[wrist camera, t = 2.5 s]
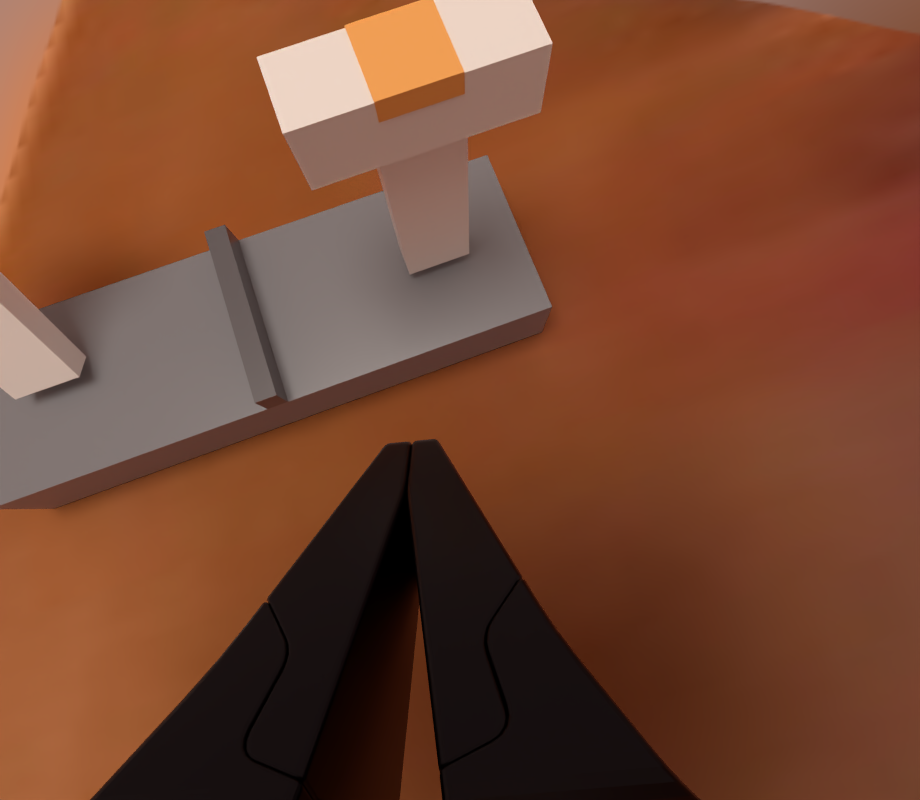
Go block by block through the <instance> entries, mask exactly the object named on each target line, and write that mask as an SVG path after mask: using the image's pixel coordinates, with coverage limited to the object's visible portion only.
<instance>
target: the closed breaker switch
mask: <svg viewBox="0 0 920 800" xmlns="http://www.w3.org/2000/svg"><path fill="white" fill-rule="evenodd" d="M85 359H86V356H85V355H84V354H83V353H82V352H81V351H80V350H79V349H78V348H77V347H76V346H75V345H74V344H73V343H72V342H71V341H70V340H69V339H68V338H67V337H66V336H65V335H64V334H63V333H62V332H61V331H60V330H59V329H58V328H57V327H56V326H55V325H54V324H53V323H52V322H51V321H50V320H49V319H48V318H47V317H46V316H45V315H44V314H43V313H42V312H41V311H40V310H39V309H37V308H36V307H35V306H34V305H33V304H32V303H31V302H30V301H29V300H28V299H27V298H26V297H25V296H24V295H23V294H22V293H21V292H20V291H19V290H18V289H17V288H16V287H15V286H14V285H13V284H12V283H11V282H10V281H9V280H8V279H7V278H6V277H5V276H4V275H3V274H2V273H1V272H0V388H1V389H3V390H4V391H5V392H6V393H8V394H9V395H10V396H11V397H13V398H14V399H18V398H21V397H24V396H27V395H30V394H32V393H35V392H38V391H41V390H44V389H47V388H49V387H52V386H55V385H58V384H61V383H64V382H67V381H69V380H72V379H75V378H78V377H80V374H81V371H82V368H83V365H84V362H85Z"/></svg>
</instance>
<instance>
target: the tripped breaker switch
mask: <svg viewBox="0 0 920 800" xmlns="http://www.w3.org/2000/svg"><path fill="white" fill-rule="evenodd" d="M344 26H345V28H344V29H341V30H338V31H335V32H331V33H328V34H325V35H322V36H319V37H316V38H313V39H310V40H307V41H304V42H301V43H298V44H295V45H292V46H289V47H286V48H283V49H280V50H277V51H273V52H270V53H267V54H264V55H261V56H258V57H257V60H258V62H259V65H260V68H261V71H262V74H263V77H264V80H265V83H266V86H267V89H268V92H269V95H270V98H271V101H272V104H273V106H274V109H275V112H276V115H277V118H278V121H279V124H280V127H281V130H282V133H283V135H284V137H285V139H286V141H287V143H288V145H289V147H290V149H291V151H292V153H293V155H294V157H295V158H296V160H297V162H298V164H299V166H300V168H301V170H302V172H303V174H304V176H305V178H306V180H307V182H308V184H309V186H310V188H311V190H315V189H318V188H321V187H324V186H326V185H329V184H332V183H335V182H338V181H341V180H344V179H347V178H350V177H353V176H356V175H359V174H362V173H365V172H367V171H370V170H373V169H376V168H377V170H378V174H379V177H380V181H381V184H382V188H383V191H384V195H385V198H386V202H387V205H388V209H389V212H390V216H391V219H392V223H393V226H394V230H395V233H396V237H397V240H398V244H399V247H400V250H401V253H402V255H403V258H404V261H405V263H406V266H407V269H408V271H409V274H413V273H416V272H419V271H422V270H424V269H427V268H430V267H433V266H436V265H439V264H441V263H444V262H447V261H450V260H453V259H456V258H459V257H461V256H464V255H467V254H469V202H468V137H470V136H473V135H476V134H479V133H482V132H485V131H488V130H490V129H493V128H496V127H499V126H502V125H505V124H508V123H511V122H514V121H517V120H520V119H523V118H526V117H529V116H531V115H534V114H537V113H540V112H541V107H542V101H543V96H544V90H545V84H546V78H547V73H548V67H549V61H550V55H551V49H552V44H553V43H552V41H551V39H550V37H549V35H548V33H547V31H546V29H545V26H544V24H543V22H542V20H541V18H540V16H539V14H538V12H537V10H536V8H535V6H534V4H533V1H532V0H420V1H417V2H414V3H411V4H408V5H405V6H402V7H398V8H395V9H392V10H389V11H386V12H383V13H380V14H377V15H374V16H371V17H368V18H365V19H362V20H359V21H356V22H353V23H350V24H347V25H344Z"/></svg>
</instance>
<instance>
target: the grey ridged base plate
mask: <svg viewBox="0 0 920 800" xmlns="http://www.w3.org/2000/svg"><path fill="white" fill-rule="evenodd" d="M468 202H469V254H467V255H464V256H461V257H459V258H456V259H453V260H450V261H447V262H444V263H441V264H439V265H436V266H433V267H430V268H427V269H424V270H422V271H419V272H416V273H413V274H409V271H408V269H407V266H406V263H405V261H404V258H403V255H402V253H401V250H400V247H399V244H398V240H397V237H396V233H395V230H394V226H393V223H392V219H391V216H390V212H389V209H388V205H387V202H386V198H385V195H384V191H381V192H378V193H375V194H373V195H370V196H367V197H364V198H361V199H358V200H355V201H352V202H349V203H346V204H343V205H341V206H338V207H335V208H332V209H329V210H326V211H323V212H320V213H317V214H314V215H311V216H309V217H306V218H303V219H300V220H297V221H294V222H291V223H288V224H285V225H282V226H279V227H277V228H274V229H271V230H268V231H265V232H262V233H259V234H256V235H253V236H250V237H247V238H244V239H242V240H238V239H237V238H236V237H235V236H234V235H233V234H232V232H231V231H230V230H229V229H228V228H227V227H226V226H225V225H223V226H220V227H217V228H214V229H211V230H208V231H205V236H206V239H207V243H208V246H209V249H210V251H207V252H204V253H201V254H198V255H195V256H192V257H189V258H186V259H183V260H180V261H178V262H175V263H172V264H169V265H166V266H163V267H160V268H157V269H154V270H151V271H148V272H146V273H143V274H140V275H137V276H134V277H131V278H128V279H125V280H122V281H119V282H116V283H114V284H111V285H108V286H105V287H102V288H99V289H96V290H93V291H90V292H87V293H84V294H82V295H79V296H76V297H73V298H70V299H67V300H64V301H61V302H58V303H55V304H52V305H50V306H47V307H44V308H41V309H39V310H40V311H41V312H42V313H43V314H44V315H45V316H46V317H47V318H48V319H49V320H50V321H51V322H52V323H53V324H54V325H55V326H56V327H57V328H58V329H59V330H60V331H61V332H62V333H63V334H64V335H65V336H66V337H67V338H68V339H69V340H70V341H71V342H72V343H73V344H74V345H75V346H76V347H77V348H78V349H79V350H80V351H81V352H82V353H83V354H84V355H85V356H86V359H85V362H84V365H83V368H82V371H81V374H80V377H78V378H75V379H72V380H69V381H67V382H64V383H61V384H58V385H55V386H52V387H49V388H47V389H44V390H41V391H38V392H35V393H32V394H30V395H27V396H24V397H21V398H18V399H14V398H13V397H11V396H10V395H9V394H8V393H6V392H5V391H4V390H3V389H1V388H0V509H54V508H57V507H60V506H62V505H65V504H68V503H71V502H74V501H76V500H79V499H82V498H85V497H87V496H90V495H93V494H96V493H98V492H101V491H104V490H107V489H109V488H112V487H115V486H118V485H120V484H123V483H126V482H129V481H132V480H134V479H137V478H140V477H143V476H145V475H148V474H151V473H154V472H156V471H159V470H162V469H165V468H167V467H170V466H173V465H176V464H179V463H181V462H184V461H187V460H190V459H192V458H195V457H198V456H201V455H203V454H206V453H209V452H212V451H214V450H217V449H220V448H223V447H226V446H228V445H231V444H234V443H237V442H239V441H242V440H245V439H248V438H250V437H253V436H256V435H259V434H261V433H264V432H267V431H270V430H272V429H275V428H278V427H281V426H284V425H286V424H289V423H292V422H295V421H297V420H300V419H303V418H306V417H308V416H311V415H314V414H317V413H319V412H322V411H325V410H328V409H331V408H333V407H336V406H339V405H342V404H344V403H347V402H350V401H353V400H355V399H358V398H361V397H364V396H366V395H369V394H372V393H375V392H378V391H380V390H383V389H386V388H389V387H391V386H394V385H397V384H400V383H402V382H405V381H408V380H411V379H413V378H416V377H419V376H422V375H424V374H427V373H430V372H433V371H436V370H438V369H441V368H444V367H447V366H449V365H452V364H455V363H458V362H460V361H463V360H466V359H469V358H471V357H474V356H477V355H480V354H483V353H485V352H488V351H491V350H494V349H496V348H499V347H502V346H505V345H507V344H510V343H513V342H516V341H518V340H521V339H524V338H527V337H530V336H532V335H535V334H538V333H541V332H542V330H543V328H544V325H545V323H546V321H547V318H548V316H549V313H550V311H551V308H552V306H551V303H550V301H549V299H548V296H547V294H546V292H545V289H544V287H543V285H542V282H541V280H540V278H539V275H538V273H537V271H536V268H535V266H534V264H533V261H532V259H531V257H530V254H529V252H528V250H527V247H526V245H525V242H524V240H523V238H522V235H521V233H520V231H519V228H518V226H517V224H516V221H515V219H514V217H513V214H512V212H511V210H510V207H509V205H508V203H507V200H506V198H505V196H504V193H503V191H502V189H501V186H500V184H499V182H498V179H497V177H496V175H495V172H494V170H493V168H492V165H491V163H490V161H489V158H488V156H487V155H486V156H483V157H480V158H477V159H474V160H471V161H469V162H468Z"/></svg>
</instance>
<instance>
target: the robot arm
mask: <svg viewBox="0 0 920 800" xmlns="http://www.w3.org/2000/svg"><path fill="white" fill-rule="evenodd" d="M267 601H268V603H269V604H268V603H267V602H265V603H263V604H262V605H261V607H260V608H259V609H258V611H257V612H256V613H255V615H254V616H253V617H252V618H251V620H250V621H249V622H248V624H247V625H246V626H245V627H244V629H243V630H242V631H241V632H240V634H239V635H238V636H237V637H236V638H235V640H234V641H233V642H232V643H231V645H230V646H229V647H228V648H227V650H226V651H225V652H224V653H223V654H222V656H221V657H220V658H219V659H218V660H217V662H216V663H215V664H214V665H213V666H212V667H211V668H210V669H209V671H208V672H207V673H206V674H205V675H204V676H203V677H202V679H201V680H200V681H199V682H198V683H197V684H196V685H195V686H194V688H193V689H192V690H191V691H190V692H189V693H188V694H187V695H186V697H185V698H184V699H183V700H182V701H181V702H180V703H179V704H178V705H177V706H176V707H175V709H174V710H173V711H172V712H171V713H170V714H169V715H168V716H167V717H166V718H165V719H164V720H163V722H162V723H161V724H160V725H159V726H158V727H157V728H156V729H155V730H154V731H153V732H152V733H151V735H150V736H149V737H148V738H147V739H146V740H145V741H144V742H143V743H142V744H141V745H140V746H139V748H138V749H137V750H136V751H135V752H134V753H133V754H132V755H131V756H130V757H129V758H128V759H127V761H126V762H125V763H124V764H123V765H122V766H121V767H120V768H119V769H118V770H117V771H116V772H115V774H114V775H113V776H112V777H111V778H110V779H109V780H108V781H107V782H106V783H105V784H104V785H103V787H102V788H101V789H100V790H99V791H98V792H97V793H96V794H95V795H94V796H93V797H92V798H91V799H90V800H399V799H400V789H401V779H402V769H403V759H404V749H405V739H406V729H407V719H408V709H409V699H410V689H411V679H412V669H413V659H414V649H415V639H416V629H417V619H418V609H419V605H420V614H421V622H422V631H423V639H424V647H425V656H426V664H427V673H428V681H429V690H430V698H431V707H432V715H433V723H434V732H435V740H436V749H437V757H438V766H439V770H440V783H441V791H442V800H700V799H699V798H698V797H697V796H696V795H695V794H694V793H693V792H692V791H691V790H690V789H689V788H688V787H687V786H686V785H685V784H684V783H683V782H682V781H681V780H680V779H679V778H678V777H677V776H676V775H675V774H674V773H673V772H672V771H671V769H670V768H669V767H668V766H667V765H666V764H665V763H664V762H663V760H662V759H661V758H660V757H659V756H658V755H657V753H656V752H655V751H654V750H653V749H652V747H651V746H650V745H649V744H648V743H647V741H646V740H645V739H644V738H643V736H642V735H641V734H640V733H639V732H638V730H637V729H636V728H635V727H634V725H633V724H632V723H631V722H630V721H629V719H628V718H627V717H626V716H625V714H624V713H623V712H622V711H621V710H620V708H619V707H618V706H617V705H616V704H615V702H614V701H613V700H612V699H611V697H610V696H609V695H608V694H607V693H606V691H605V690H604V689H603V688H602V686H601V685H600V684H599V683H598V682H597V680H596V679H595V678H594V677H593V675H592V674H591V673H590V672H589V671H588V669H587V668H586V667H585V666H584V664H583V663H582V662H581V661H580V659H579V658H578V657H577V655H576V654H575V653H574V652H573V650H572V649H571V648H570V646H569V645H568V644H567V642H566V641H565V640H564V638H563V637H562V636H561V635H560V633H559V632H558V631H557V629H556V628H555V626H554V625H553V623H552V622H551V620H550V619H549V617H548V616H547V614H546V613H545V611H544V610H543V608H542V607H541V605H540V604H539V602H538V601H537V599H536V598H535V596H534V594H533V593H532V591H531V590H530V588H529V586H528V585H527V583H526V582H525V580H523V579H522V576H521V574H520V572H519V571H518V569H517V568H516V566H515V564H514V563H513V561H512V559H511V558H510V556H509V555H508V553H507V551H506V550H505V548H504V546H503V545H502V543H501V542H500V540H499V538H498V537H497V535H496V534H495V532H494V530H493V529H492V527H491V525H490V524H489V522H488V521H487V519H486V517H485V516H484V514H483V513H482V511H481V509H480V508H479V506H478V504H477V503H476V501H475V500H474V498H473V496H472V495H471V493H470V491H469V490H468V488H467V487H466V485H465V483H464V482H463V480H462V479H461V477H460V475H459V474H458V472H457V470H456V469H455V467H454V466H453V464H452V462H451V461H450V459H449V458H448V456H447V454H446V453H445V451H444V449H443V448H442V446H441V445H440V443H439V442H438V441H437V440H435V439H431V440H420V441H415V442H414V443H413V444H411V443H410V442H399V443H390V444H387V445H385V446H384V448H383V449H382V450H381V452H380V453H379V454H378V455H377V457H376V458H375V459H374V461H373V462H372V463H371V465H370V466H369V467H368V468H367V470H366V471H365V472H364V474H363V475H362V476H361V477H360V479H359V480H358V481H357V483H356V484H355V485H354V487H353V488H352V489H351V490H350V492H349V493H348V494H347V496H346V497H345V498H344V500H343V501H342V502H341V503H340V505H339V506H338V507H337V509H336V510H335V511H334V512H333V514H332V515H331V516H330V518H329V519H328V520H327V522H326V523H325V524H324V525H323V527H322V528H321V529H320V531H319V532H318V533H317V535H316V536H315V537H314V538H313V540H312V541H311V542H310V544H309V545H308V546H307V547H306V549H305V550H304V551H303V553H302V554H301V555H300V557H299V558H298V559H297V560H296V562H295V563H294V564H293V566H292V567H291V568H290V570H289V571H288V572H287V573H286V575H285V576H284V577H283V579H282V580H281V581H280V582H279V584H278V585H277V586H276V588H275V589H274V590H273V592H272V593H271V594H270V595H269V597H268V599H267Z"/></svg>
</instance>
